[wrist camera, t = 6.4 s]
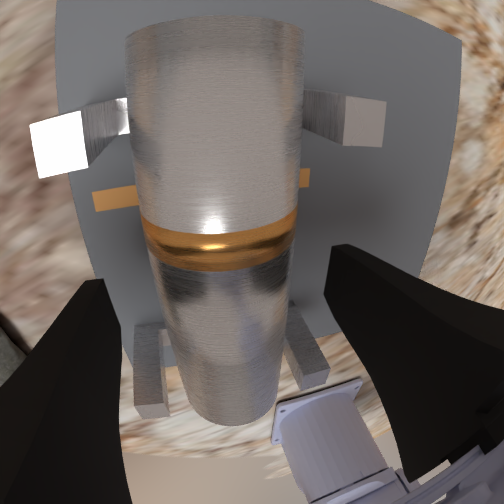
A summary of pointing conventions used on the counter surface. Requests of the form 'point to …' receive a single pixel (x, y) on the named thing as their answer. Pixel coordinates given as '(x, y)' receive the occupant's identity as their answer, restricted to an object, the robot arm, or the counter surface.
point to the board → (312, 145)
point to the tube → (219, 196)
